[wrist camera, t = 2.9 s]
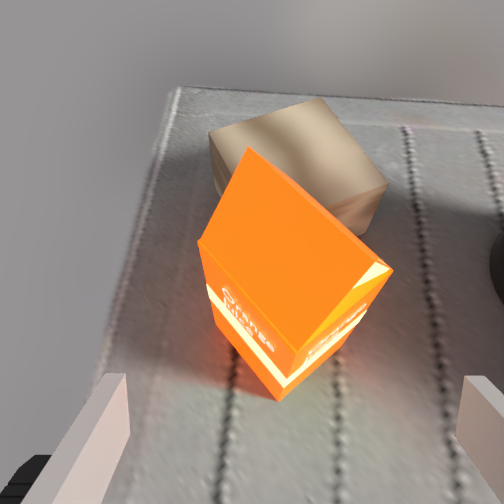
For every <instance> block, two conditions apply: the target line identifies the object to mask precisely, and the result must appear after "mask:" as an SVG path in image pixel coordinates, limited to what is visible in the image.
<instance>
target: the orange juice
mask: <svg viewBox="0 0 504 504" xmlns="http://www.w3.org/2000/svg"><path fill="white" fill-rule="evenodd" d="M198 246H199V250H200V255H201V260H202V264H203V269H204V273H205V278H206V282H207V284H206V285H207V290H208V294H209V298H210V300H211V305H212V309H213V314H214V318H215V323H216V325H217V326H218V327H219V329H220V330H221V331H222V332H223V334H224V335H225V336H226V337H227V339H228V340H229V341H230V342H231V344H232V345H233V346H234V347H235V349H236V350H237V351H238V352H239V354H240V355H241V356H242V357H243V358H244V360H245V361H246V362H247V363H248V365H249V366H250V367H251V368H252V370H253V371H254V372H255V373H256V375H257V376H258V377H259V378H260V380H261V381H262V382H263V383H264V385H265V386H266V387H267V388H268V390H269V391H270V392H271V393H272V395H273V396H274V397H275V398H276V400H277V401H278V402H279V401H280V400H281V399H282V398H283V397H284V396H285V395H287V394H288V393H289V392H290V391H291V390H292V389H293V388H294V387H296V386H297V385H298V384H299V383H300V382H301V381H302V380H303V379H305V378H306V377H307V376H308V375H309V374H310V373H311V372H312V371H314V370H315V369H316V368H317V367H318V366H319V365H320V364H321V363H323V362H324V361H325V360H326V359H327V358H328V357H329V356H331V355H332V354H333V353H334V352H335V351H336V350H337V349H338V348H340V347H341V346H342V344H343V343H344V342H345V340H346V339H347V337H348V336H349V334H350V333H351V331H352V330H353V329H354V327H355V326H356V324H357V323H359V321H360V320H361V318H362V317H363V315H364V314H365V313H366V311H367V308H368V307H369V305H370V304H371V303H372V301H373V300H374V298H375V297H376V295H377V294H378V292H379V291H380V290H381V288H382V287H383V285H384V284H385V282H386V281H387V279H388V278H389V277H390V275H391V274H392V272H393V269H391V268H390V267H389V266H388V265H387V264H386V263H385V262H384V261H383V260H381V259H380V258H379V257H378V256H377V255H376V254H375V253H374V252H373V251H371V250H370V249H369V248H368V247H367V246H366V245H365V244H364V243H363V242H361V241H360V240H359V239H358V238H357V237H356V236H355V235H354V234H353V233H351V232H350V231H349V230H348V229H347V228H346V227H345V226H344V225H342V224H341V223H340V222H339V221H338V220H337V219H336V218H335V217H334V216H332V215H331V214H330V213H329V212H328V211H327V210H326V209H325V208H324V207H322V206H321V205H320V204H319V203H318V202H317V201H316V200H315V199H314V198H312V197H311V196H310V195H309V194H308V193H307V192H306V191H305V190H304V189H302V188H301V187H300V186H299V185H298V184H297V183H296V182H295V181H294V180H292V179H291V178H290V177H288V176H287V175H286V174H284V173H283V172H282V171H280V170H279V169H278V168H276V167H275V166H274V165H272V164H271V163H270V162H268V161H267V160H266V159H264V158H263V157H262V156H260V155H259V154H258V153H256V152H255V151H254V150H252V149H251V148H250V147H249V146H248V147H247V149H246V151H245V153H244V155H243V157H242V159H241V161H240V162H239V164H238V166H237V168H236V170H235V172H234V174H233V176H232V178H231V180H230V182H229V184H228V186H227V188H226V190H225V192H224V194H223V196H222V198H221V200H220V202H219V204H218V206H217V208H216V210H215V212H214V213H213V215H212V217H211V219H210V221H209V223H208V225H207V227H206V229H205V231H204V233H203V235H202V237H201V239H199V240H198Z"/></svg>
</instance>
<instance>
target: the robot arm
mask: <svg viewBox="0 0 504 504" xmlns="http://www.w3.org/2000/svg"><path fill="white" fill-rule="evenodd" d="M490 269H491V275H492V279H493V282H494V285H495V287H496V290H497V292H498V294H499V296H500V298H501V299H502V301H503V303H504V231H503V232H502V233H501V234H500V235H499V236H498V238H497V239H496V241H495V243H494V245H493V247H492V251H491V256H490ZM129 436H130V423H129V411H128V400H127V388H126V376H125V373H105V375H104V376H103V378H102V379H101V381H100V382H99V384H98V385H97V387H96V388H95V390H94V392H93V393H92V395H91V396H90V398H89V399H88V401H87V402H86V404H85V405H84V407H83V408H82V410H81V412H80V413H79V415H78V416H77V418H76V419H75V421H74V423H73V424H72V425H71V427H70V429H69V430H68V432H67V433H66V435H65V436H64V438H63V439H62V441H61V442H60V444H59V445H58V447H57V449H56V450H55V452H54V453H53V455H34V456H33V457H32V458H31V459H29V460H28V461H27V462H26V463H24V464H23V465H22V466H21V467H19V469H18V470H17V471H16V473H15V474H14V476H13V477H12V478H11V480H10V481H9V482H8V485H7V486H6V487H5V488H4V489H3V491H2V492H1V493H0V504H101V502H102V499H103V497H104V495H105V492H106V490H107V488H108V485H109V483H110V480H111V478H112V476H113V473H114V471H115V469H116V466H117V464H118V462H119V459H120V457H121V455H122V452H123V450H124V448H125V445H126V443H127V441H128V438H129ZM455 437H456V439H457V440H458V441H459V443H460V444H461V446H462V447H463V449H464V450H465V451H466V453H467V454H468V456H469V457H470V459H471V460H472V461H473V463H474V464H475V466H476V467H477V469H478V470H479V471H480V473H481V474H482V476H483V477H484V479H485V480H486V481H487V483H488V484H489V486H490V487H491V488H492V490H493V491H494V493H495V494H496V496H497V497H498V498H499V500H500V501H501V503H502V504H504V395H503V394H502V393H501V392H500V391H499V390H498V389H497V388H496V387H495V386H494V385H493V384H492V383H491V382H490V381H489V380H488V379H487V378H486V377H485V376H464V383H463V389H462V395H461V401H460V407H459V413H458V419H457V425H456V431H455Z"/></svg>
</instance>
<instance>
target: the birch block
mask: <svg viewBox="0 0 504 504" xmlns="http://www.w3.org/2000/svg"><path fill="white" fill-rule="evenodd" d="M208 134H209V142H210V150H211V159H212V167H213V175H214V184H215V188H216V190H217V192H218V194H219V196H220V198H222V196H223V194H224V192H225V190H226V188H227V186H228V184H229V182H230V180H231V178H232V176H233V174H234V172H235V170H236V168H237V166H238V164H239V162H240V161H241V159H242V157H243V155H244V153H245V151H246V149H247V147H248V146H249V147H250V148H251V149H252V150H254V151H255V152H256V153H258V154H259V155H260V156H262V157H263V158H264V159H266V160H267V161H268V162H270V163H271V164H272V165H274V166H275V167H276V168H278V169H279V170H280V171H282V172H283V173H284V174H286V175H287V176H288V177H290V178H291V179H292V180H294V181H295V182H296V183H297V184H298V185H299V186H300V187H301V188H302V189H304V190H305V191H306V192H307V193H308V194H309V195H310V196H311V197H312V198H314V199H315V200H316V201H317V202H318V203H319V204H320V205H321V206H322V207H324V208H325V209H326V210H327V211H328V212H329V213H330V214H331V215H332V216H334V217H335V218H336V219H337V220H338V221H339V222H340V223H341V224H342V225H344V226H345V227H346V228H347V229H348V230H349V231H350V232H351V233H353V234H354V235H355V236H356V237H357V236H359V235H362V234H364V233H366V231H367V229H368V226H369V224H370V222H371V220H372V218H373V216H374V214H375V212H376V209H377V207H378V205H379V203H380V201H381V199H382V197H383V195H384V192H385V190H386V188H387V186H388V184H389V182H388V181H387V180H386V179H385V177H384V176H383V175H382V174H381V172H380V171H379V170H378V169H377V167H376V166H375V165H374V163H373V162H372V161H371V160H370V158H369V157H368V156H367V155H366V153H365V152H364V151H363V150H362V148H361V147H360V146H359V145H358V143H357V142H356V141H355V140H354V138H353V137H352V136H351V134H350V133H349V132H348V131H347V129H346V128H345V127H344V126H343V124H342V123H341V122H340V121H339V119H338V118H337V117H336V116H335V114H334V113H333V112H332V111H331V109H330V108H329V107H328V106H327V104H326V103H325V102H324V100H323V99H322V98H321V97H319V98H316V99H313V100H310V101H307V102H303V103H300V104H297V105H294V106H291V107H287V108H284V109H281V110H278V111H274V112H271V113H268V114H265V115H262V116H258V117H255V118H252V119H249V120H246V121H242V122H239V123H236V124H233V125H229V126H226V127H223V128H220V129H217V130H213V131H210V132H208Z"/></svg>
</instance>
